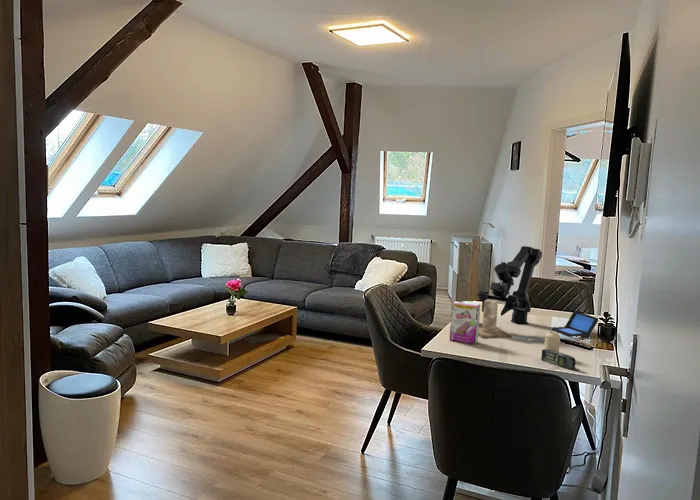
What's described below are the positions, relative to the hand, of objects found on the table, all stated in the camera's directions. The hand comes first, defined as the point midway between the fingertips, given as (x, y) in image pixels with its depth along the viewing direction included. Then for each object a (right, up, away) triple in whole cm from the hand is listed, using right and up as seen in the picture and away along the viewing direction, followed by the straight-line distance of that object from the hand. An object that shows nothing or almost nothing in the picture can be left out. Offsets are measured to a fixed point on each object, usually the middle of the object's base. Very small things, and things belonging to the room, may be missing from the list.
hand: (491, 313), depth 242 cm
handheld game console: (+40, -11, +8) cm, 43 cm away
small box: (-6, -7, +19) cm, 21 cm away
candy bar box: (-16, -10, -15) cm, 24 cm away
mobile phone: (+14, -15, -42) cm, 47 cm away
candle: (+15, -14, -32) cm, 37 cm away
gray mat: (+16, -11, -7) cm, 20 cm away
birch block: (-1, -8, 0) cm, 8 cm away
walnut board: (-1, -9, 0) cm, 9 cm away
